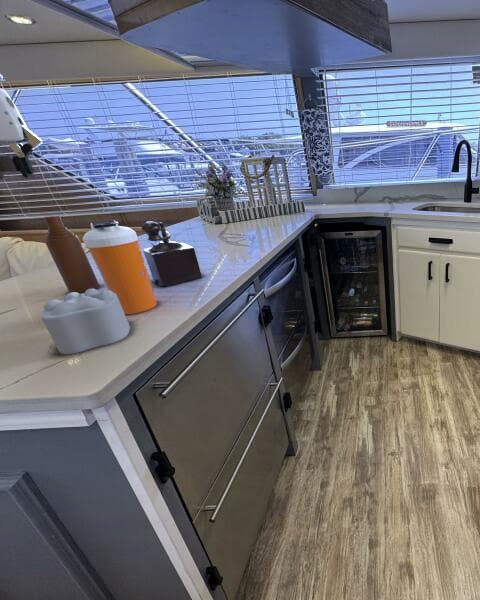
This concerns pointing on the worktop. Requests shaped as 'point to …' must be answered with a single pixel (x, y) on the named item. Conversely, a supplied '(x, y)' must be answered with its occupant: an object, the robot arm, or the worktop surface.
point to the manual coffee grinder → (169, 257)
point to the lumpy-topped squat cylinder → (85, 320)
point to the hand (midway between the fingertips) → (13, 177)
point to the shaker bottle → (121, 265)
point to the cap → (8, 164)
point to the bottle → (69, 257)
